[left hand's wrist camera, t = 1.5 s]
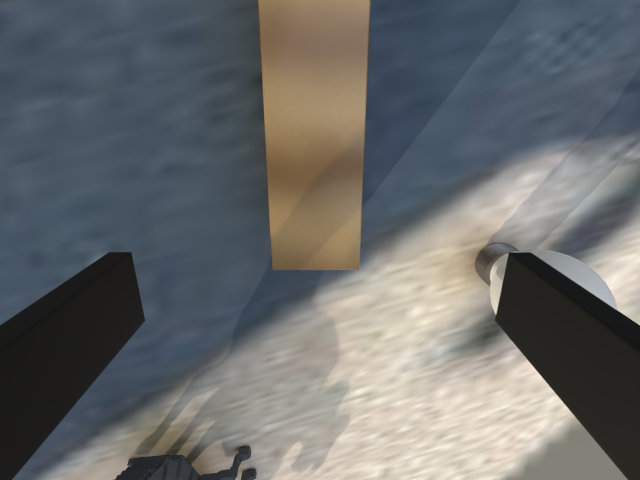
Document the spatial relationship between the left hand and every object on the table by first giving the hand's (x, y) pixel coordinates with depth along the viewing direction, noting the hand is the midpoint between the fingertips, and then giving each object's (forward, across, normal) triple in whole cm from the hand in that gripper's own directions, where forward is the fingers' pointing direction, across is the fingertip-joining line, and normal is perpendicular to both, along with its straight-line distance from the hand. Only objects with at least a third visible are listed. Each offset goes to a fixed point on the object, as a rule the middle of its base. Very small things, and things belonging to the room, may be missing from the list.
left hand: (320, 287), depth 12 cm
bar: (+17, 0, -8) cm, 19 cm away
